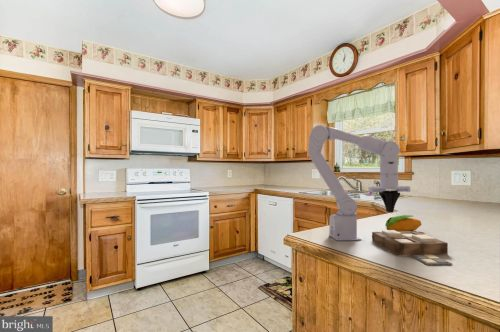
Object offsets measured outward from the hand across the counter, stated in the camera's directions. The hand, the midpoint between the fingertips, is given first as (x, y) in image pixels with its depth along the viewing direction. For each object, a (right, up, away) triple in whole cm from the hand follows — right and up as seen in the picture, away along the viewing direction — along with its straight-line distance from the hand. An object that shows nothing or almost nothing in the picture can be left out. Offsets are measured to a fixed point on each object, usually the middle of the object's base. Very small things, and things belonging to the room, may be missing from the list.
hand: (389, 211), depth 92 cm
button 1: (-2, -8, -5) cm, 10 cm away
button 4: (+4, -8, -11) cm, 15 cm away
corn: (+11, -11, +10) cm, 19 cm away
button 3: (+4, -9, -5) cm, 11 cm away
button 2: (-2, -9, -12) cm, 15 cm away
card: (+1, -10, -20) cm, 22 cm away
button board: (+1, -10, -8) cm, 13 cm away
